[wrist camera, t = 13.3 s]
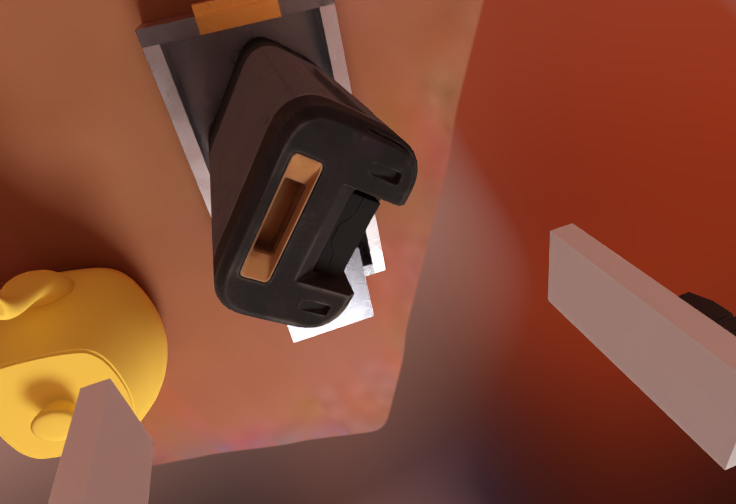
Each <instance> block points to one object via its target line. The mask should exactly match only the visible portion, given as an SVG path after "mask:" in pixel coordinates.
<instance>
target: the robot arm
mask: <svg viewBox="0 0 736 504" xmlns="http://www.w3.org/2000/svg"><path fill="white" fill-rule="evenodd" d="M548 300H549V302H550V303H552V304H553V305H554V306H555V307H556V308H557V309H558V310H559V311H560V312H561V313H562V314H563V315H564V316H565V317H566V318H567V319H568V320H569V321H570V322H571V323H573V324H574V326H575V327H577V328H578V329H579V330H580V331H581V332H582V333H583V334H584V335H585V336H586V337H587V338H588V339H589V340H590V341H591V342H592V343H593V344H594V345H595V346H596V347H598V349H599V350H601V351H602V352H603V353H604V354H605V355H606V356H607V357H608V358H609V359H610V360H611V361H612V362H613V363H614V364H615V365H616V366H617V367H618V368H619V369H620V370H621V371H622V372H624V373H625V374H626V376H628V377H629V378H630V379H631V380H632V381H633V382H634V383H635V384H636V385H637V386H638V387H639V388H640V389H641V390H642V391H643V392H644V393H645V394H646V395H647V396H648V397H649V398H650V399H652V401H654V402H655V403H656V404H657V405H658V406H659V407H660V408H661V409H662V410H663V411H664V412H665V413H666V414H667V415H668V416H669V417H670V418H671V419H672V420H673V421H675V423H676V424H677V425H679V426H680V427H681V428H682V429H683V430H684V431H685V432H686V433H687V434H688V435H689V436H690V437H691V438H692V439H693V440H694V441H695V442H696V443H697V444H698V445H699V446H700V447H701V448H703V450H705V451H706V452H707V453H708V454H709V455H710V456H711V457H712V458H713V459H714V460H715V461H716V462H717V463H718V464H719V465H720V466H721V467H722V468H723V469H724V470H726V469H729V468H731V467H733V466H735V465H736V317H734V316H733V314H732V313H731V312H729V311H728V310H726V309H724V308H723V307H721V306H720V305H718V304H717V303H715V302H714V301H712V300H709V299H706V298H703V297H701V296H698V295H695V294H693V293H690V292H688V293H686V294H683V295H680V296H676V295H675V294H673V293H672V292H671V291H669V290H668V289H666V288H665V287H663V286H662V285H660V284H659V283H658V282H656V281H655V280H653V279H652V278H650V277H649V276H648V275H646V274H645V273H643V272H642V271H640V270H639V269H637V268H636V267H634V266H633V265H632V264H630V263H629V262H627V261H626V260H624V259H623V258H622V257H620V256H619V255H617V254H616V253H614V252H613V251H612V250H610V249H609V248H607V247H606V246H604V245H603V244H601V243H600V242H599V241H597V240H596V239H594V238H593V237H591V236H590V235H588V234H587V233H585V232H584V231H583V230H581V229H580V228H578V227H577V226H575V225H574V224H569V225H566V226H563V227H560V228H557V229H554V230H552V231H550V255H549V286H548ZM153 446H154V441H153V439H152V438H151V436H150V435H149V434H148V432H147V431H146V429H145V428H144V426H143V425H142V423H141V422H140V421H139V419H138V418H137V416H136V415H135V413H134V412H133V410H132V409H131V408H130V406H129V405H128V403H127V402H126V400H125V399H124V397H123V396H122V395H121V393H120V392H119V390H118V389H117V387H116V386H115V384H114V383H113V382H112V380H111V379H110V378H109V379H106V380H103V381H100V382H97V383H94V384H91V385H88V386H85V387H82V388H80V391H79V395H78V398H77V402H76V405H75V409H74V413H73V416H72V420H71V423H70V427H69V430H68V434H67V438H66V441H65V445H64V448H63V452H62V455H61V459H60V463H59V466H58V470H57V474H56V477H55V480H54V484H53V487H52V491H51V495H50V498H49V502H48V504H148V498H149V488H150V477H151V466H152V456H153Z"/></svg>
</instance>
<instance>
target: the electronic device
mask: <svg viewBox="0 0 736 504" xmlns="http://www.w3.org/2000/svg"><path fill="white" fill-rule="evenodd" d="M208 146H209V168H210V193H211V218H212V243H213V268H214V286H215V292H216V295H217V297H218V299H219V300H220V301H221V303H222V304H223V305H224V306H226V307H227V308H228V309H230V310H232V311H234V312H237V313H240V314H243V315H247V316H251V317H256V318H260V319H264V320H269V321H273V322H277V323H282V324H286V325H290V326H295V327H301V328H316V327H320V326H323V325H326V324H328V323H330V322H332V321H333V320H335V319H336V318H337V317H338V316H340V315H341V313H342V312H343V311H344V310H345V309H346V307H347V306H348V304H349V303H350V301H351V299H352V298H353V296H354V294H355V293H354V291H353V289H352V287H351V285H350V283H349V280H348V278H347V276H346V274H345V272H344V270H345V268H346V266H347V264H348V262H349V260H350V259H351V257H352V255H353V253H354V251H355V249H356V247H357V246H358V244H359V242H360V240H361V238H362V236H363V234H364V233H365V231H366V229H367V227H368V225H369V223H370V221H371V220H372V218H373V216H374V214H375V212H376V210H377V209H378V207H379V205H380V203H379V201H380V199H382V200H385V201H387V202H390V203H392V204H395V205H397V206H401V205H404V204H405V202H406V200H407V199H408V197H409V195H410V193H411V191H412V189H413V186H414V184H415V181H416V177H417V160H416V157H415V154H414V151H413V150H412V149H411V147H410V146H409V145H408V144H407V143H406V142H405V141H404V140H403V139H402V138H400V137H399V136H398V135H397V134H396V133H395V132H393V131H392V130H391V129H390V128H389V127H388V126H387V125H385V124H384V123H383V122H382V121H381V120H380V119H378V118H377V117H376V116H375V115H374V114H373V113H372V112H371V111H370V110H369V109H368V108H367V107H366V106H365V105H363V104H362V103H361V102H360V101H359V100H358V99H356V98H355V97H354V96H353V95H352V94H351V93H349V92H348V91H347V90H346V89H345V88H344V87H342V86H341V85H340V84H339V83H338V82H337V81H335V80H334V79H332V78H331V77H330V76H329V75H327V74H326V73H325V72H324V71H323V70H322V69H321V68H319V67H318V66H317V65H316V64H315V63H314V62H312V61H311V60H310V59H308V58H307V57H305V56H303V55H302V54H300V53H298V52H296V51H294V50H292V49H290V48H288V47H286V46H284V45H282V44H280V43H278V42H276V41H274V40H272V39H269V38H265V37H256V38H253V39H251V40H249V41H248V42H247V43H246V44H245V45H244V46H243V47H242V49H241V51H240V53H239V55H238V57H237V60H236V63H235V65H234V68H233V71H232V73H231V76H230V78H229V81H228V84H227V86H226V89H225V92H224V94H223V97H222V100H221V102H220V105H219V107H218V110H217V113H216V115H215V118H214V121H213V123H212V126H211V129H210V132H209V137H208Z"/></svg>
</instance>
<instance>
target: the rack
mask: <svg viewBox="0 0 736 504" xmlns="http://www.w3.org/2000/svg"><path fill="white" fill-rule="evenodd" d="M191 7H192V9H193V12H191V13H186V14H182V15H178V16H173V17H169V18H164V19H160V20H155V21H151V22H146V23H142V24H141V25H140V26H139V27H138V28H137V29H136V30H135V31H136V34H137V36H138V39H139V41H140V44H141V46H142V48H143V51H144V53H145V56H146V58H147V61H148V63H149V66H150V68H151V71H152V73H153V76H154V78H155V80H156V83H157V85H158V88H159V90H160V93H161V95H162V98H163V100H164V103H165V105H166V108H167V110H168V112H169V115H170V117H171V120H172V122H173V125H174V127H175V130H176V132H177V135H178V137H179V140H180V142H181V144H182V147H183V149H184V152H185V154H186V157H187V159H188V162H189V164H190V167H191V169H192V172H193V174H194V176H195V179H196V181H197V184H198V186H199V189H200V191H201V194H202V196H203V199H204V201H205V204H206V206H207V208H208V211H209V213H210V216H211V193H210V168H209V146H208V137H209V132H210V129H211V126H212V123H213V121H214V118H215V115H216V113H217V110H218V107H219V105H220V102H221V100H222V97H223V94H224V92H225V89H226V86H227V84H228V81H229V78H230V76H231V73H232V71H233V68H234V65H235V63H236V60H237V57H238V55H239V53H240V51H241V49H242V47H243V46H244V45H245V44H246V43H247V42H248V41H249V40H251V39H253V38H256V37H265V38H269V39H272V40H274V41H276V42H278V43H280V44H282V45H284V46H286V47H288V48H290V49H292V50H294V51H296V52H298V53H300V54H302V55H303V56H305V57H307V58H308V59H310V60H311V61H312V62H314V63H315V64H316V65H317V66H318V67H319V68H321V69H322V70H323V71H324V72H325V73H326V74H327V75H329V76H330V77H331V78H332V79H334V80H335V81H337V82H338V83H339V84H340V85H341V86H342V87H344V88H345V89H346V90H347V91H348V92H349V93H351V94H352V92H351V86H350V81H349V76H348V71H347V65H346V60H345V55H344V50H343V45H342V39H341V34H340V29H339V24H338V18H337V13H336V8H335V3H334V0H206V1H201V2H197V3H192V4H191ZM383 270H386V269H385V264H384V259H383V254H382V248H381V243H380V238H379V233H378V227H377V222H376V217H375V214H374V216H373V218H372V220H371V221H370V223H369V225H368V227H367V229H366V231H365V233H364V234H363V236H362V238H361V240H360V242H359V244H358V246H357V247H356V249H355V251H354V253H353V255H352V257H351V259H350V260H349V262H348V264H347V266H346V268H345V270H344V272H345V274H346V276H347V278H348V280H349V283H350V285H351V287H352V289H353V291H354V293H355V294H354V296H353V298H352V299H351V301H350V303H349V304H348V306H347V307H346V309H345V310H344V311H343V312H342V313H341V315H340V316H338V317H337V318H336V319H335V320H333V321H332V322H330V323H328V324H326V325H323V326H320V327H316V328H301V327H295V326H290V325H287V326H288V328H289V331H290V334H291V337H292V340H293V342H294V343H295V342H298V341H301V340H304V339H307V338H310V337H313V336H316V335H319V334H322V333H325V332H328V331H331V330H333V329H336V328H339V327H342V326H345V325H348V324H351V323H354V322H357V321H360V320H363V319H366V318H369V317H372V316H374V314H373V310H372V305H371V301H370V296H369V292H368V287H367V283H366V278H365V276H368V275H371V274H374V273H377V272H380V271H383Z"/></svg>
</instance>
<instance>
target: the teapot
mask: <svg viewBox="0 0 736 504" xmlns="http://www.w3.org/2000/svg"><path fill="white" fill-rule="evenodd" d="M167 358H168V345H167V338H166V333H165V329H164V326H163V323H162V320H161V318H160V316H159V313H158V312H157V310H156V308H155V306H154V305H153V303H152V302H151V300H150V299H149V297H148V296H147V295H146V294H145V292H144V291H143V290H142V289H141V288H140V287H139V286H138V284H137V283H136V282H135V281H134V280H133V279H131V278H130V277H129V276H127V275H126V274H124V273H122V272H120V271H118V270H115V269H111V268H86V269H77V270H69V271H63V272H55V271H51V270H35V271H29V272H25V273H22V274H19V275H17V276H15V277H13V278H12V279H11V280H9V281H8V282H7V283H6V284H5V285H4V286H3V287H2V289H0V436H1V437H2V438H3V439H4V440H5V441H6V442H7V443H8V444H9V445H10V446H12V447H13V448H14V449H16V450H17V451H19V452H20V453H22V454H24V455H26V456H29V457H32V458H37V459H44V458H52V457H58V456H61V455H62V452H63V448H64V445H65V441H66V438H67V434H68V430H69V427H70V423H71V420H72V416H73V413H74V409H75V405H76V402H77V398H78V395H79V391H80V388H82V387H85V386H88V385H91V384H94V383H97V382H100V381H103V380H106V379H109V378H110V379H111V380H112V382H113V383H114V384H115V386H116V387H117V389H118V390H119V392H120V393H121V395H122V396H123V397H124V399H125V400H126V402H127V403H128V405H129V406H130V408H131V409H132V410H133V412H134V413H135V415H136V416H137V418H138V419H139V421H140V422H141V420H142V419H143V418H144V416H145V415H146V413H147V412H148V411H149V409H150V408H151V406H152V405H153V403H154V401H155V400H156V398H157V396H158V393H159V391H160V388H161V386H162V383H163V380H164V376H165V372H166V365H167Z"/></svg>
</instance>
